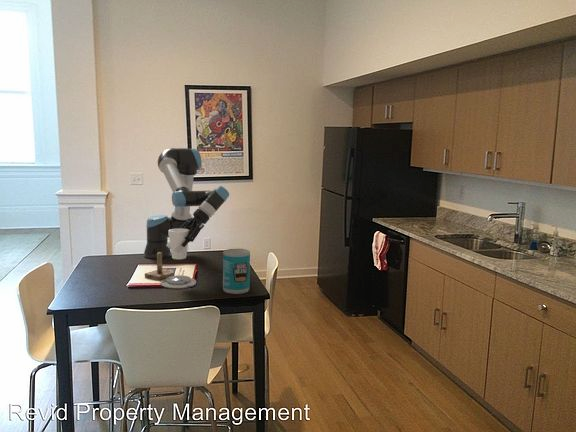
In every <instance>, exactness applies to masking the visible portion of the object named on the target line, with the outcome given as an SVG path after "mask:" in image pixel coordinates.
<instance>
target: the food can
mask: <svg viewBox="0 0 576 432" xmlns="http://www.w3.org/2000/svg"><path fill="white" fill-rule="evenodd" d="M222 254H223V255H222V257H223V258H222V265H223V266H222V290H223V292H225V293H227V294H232V295H239V294H245V293H246V294H247V293H248V292H250V285H251V283H250V282H251V281H250V276H251V275H250V273H251V271H250V270H251V251H250V250H249V249H247V248H246V249H245V248H228V249H224V250H223V252H222Z"/></svg>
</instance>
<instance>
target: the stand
mask: <svg viewBox="0 0 576 432" xmlns="http://www.w3.org/2000/svg"><path fill="white" fill-rule="evenodd" d="M156 266H157V267H156V270H151V271H148V272H145V273H144V278H146V279H151V280H154V281H159V282H161V281H163V280H165V279H167V278H168V277H171V276H176V275H175V271H169V270H165V269H163V258H162V253H161V252H159V253H157V258H156Z"/></svg>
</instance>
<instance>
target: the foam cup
mask: <svg viewBox="0 0 576 432" xmlns="http://www.w3.org/2000/svg"><path fill="white" fill-rule="evenodd" d="M189 231H190V230H189V229H170V230H168V235H169V237H168V240H169V241H170V246H171V249H170V251H171V258H172V259H173V260H184V259H186V258H187V254H188V253H187V252H188V247H189V243H188V244H187V245H186V246H185V247H184V248H183V250H182V251H181V252H180V253H178V252H177V251H176V250H175V248H176V247H177V246H178V245H179V244H180V243H181V241H182V240H183V239H185V238H184V237H187V235H188V233H189Z"/></svg>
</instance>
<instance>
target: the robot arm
mask: <svg viewBox="0 0 576 432" xmlns="http://www.w3.org/2000/svg"><path fill="white" fill-rule="evenodd" d="M201 156H202V155H201V152H200V151H199V149H197V148H191V147H190V148H187V147H186V148H184V147H183V148H181V147H178V148H177V147H175V148H174V147H171V148H167V149H165V150H163V151H162V152H161V153H160V155H159V156H158V159H157V167H158V170H159V171H160V172H161V173H163V175H164V177H165V179H166V181H167V183H168V185H169V187H170V190H171V191H172V194H171V201H172V205H173V206H174V211H173V212H172V213H171V215H170V216H171V217H170V216H169V217H168V215H166V214H157V215H153V216H150V217H148V218H147V220H146V245H145V248H144V251H143V257H144V258H146V259H147V258H148V259H157V253H159V252H161V253H162V259H165V258H169V257H172V254H171V246H170V240H169V235H168V230H170V229H189V230H190V231H189V233H188V235H187V237H184V238H185V239H183V240H182V241H181V243H180V244H179V245H178V246H177V247H176V248H175V250H176V251H177V252H178V253H180V252H181V251H182V250H183V248H184V247H185V246H186V245H187V244H188V245H189V243H192V242H194V241H195V240H196V238H197V236H198V235H199V233H200V232H201V230H203V228H204V227H205V224H207V222H208V221H210V218H212V216H214V215H215V213H216V212H217V211H218V210H219V208H221V206H222V205H223V204H224V203H225V202H226V201H227V199H228V198H229V196H230V192H229V190H227V189H226V188H225V187H224V186H222V185H217V186H216V187H215V188H214V189H213V190H210V189H209V190H193V186H194V176H196V175H197V174H198V171H199V170H201V169H202V163H203V162H202V161H203V160H202V157H201ZM191 207H198V208H197V209H196V210H194V212H193V213H192V214H191V212H190V211H191ZM192 215H193V216H192ZM168 241H169V242H168Z"/></svg>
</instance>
